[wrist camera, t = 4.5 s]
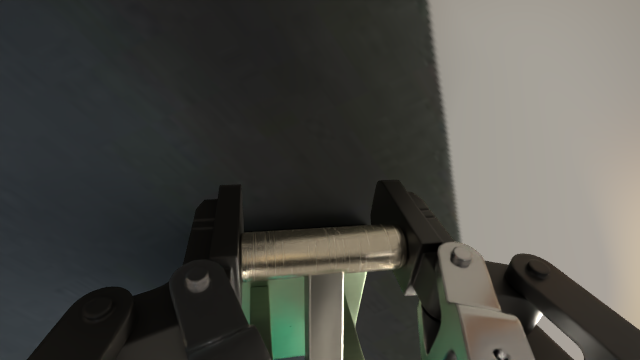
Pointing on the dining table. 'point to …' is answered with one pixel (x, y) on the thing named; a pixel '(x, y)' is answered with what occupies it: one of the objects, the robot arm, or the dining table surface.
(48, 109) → the dining table surface
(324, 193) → the dining table surface
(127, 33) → the dining table surface
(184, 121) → the dining table surface
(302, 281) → the switch bracket
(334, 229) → the switch lever
